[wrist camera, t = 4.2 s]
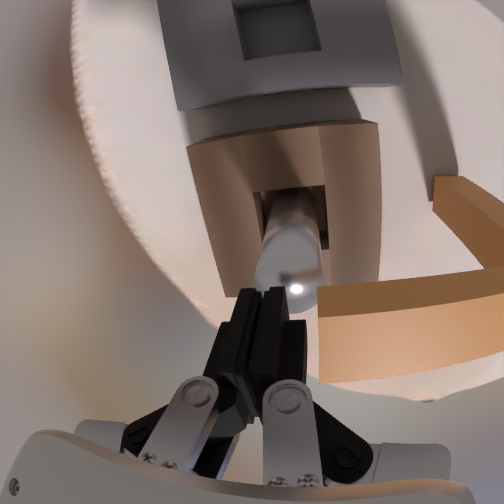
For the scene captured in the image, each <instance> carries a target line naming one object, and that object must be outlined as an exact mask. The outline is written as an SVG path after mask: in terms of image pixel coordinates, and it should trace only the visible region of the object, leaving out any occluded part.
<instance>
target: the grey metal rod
mask: <svg viewBox="0 0 504 504" xmlns="http://www.w3.org/2000/svg"><path fill="white" fill-rule="evenodd" d="M275 286H285V289H286V296H287V304H288V311H289V314H294V313H300V312H304V311H306V310H308V309H310V308H312V307H313V306H315V305H316V304H317V286H325V281H324V271H323V262H322V253H321V245H320V237H319V229H318V222H317V214H316V207H315V201H314V198H313V196H312V195H311V193H310V192H309V191H308V190H306V189H305V188H303V187H296V188H286V189H281V190H279V191H278V192H277V194H276V195H275V197H274V199H273V203H272V207H271V211H270V215H269V219H268V223H267V227H266V231H265V235H264V239H263V243H262V247H261V251H260V255H259V259H258V263H257V267H256V271H255V275H254V279H253V288H256V290H257V291H261V292H262V296H264V291H269V288H270V287H275Z"/></svg>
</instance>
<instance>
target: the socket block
mask: <svg viewBox="0 0 504 504" xmlns="http://www.w3.org/2000/svg"><path fill="white" fill-rule="evenodd" d="M186 148H187V153H188V157H189V161H190V165H191V169H192V173H193V177H194V182H195V186H196V190H197V194H198V197H199V201H200V205H201V209H202V213H203V217H204V221H205V224H206V228H207V232H208V236H209V239H210V243H211V247H212V250H213V254H214V258H215V261H216V265H217V268H218V272H219V275H220V279H221V282H222V286H223V289H224V293H225V296H226V297H238V295H239V291H240V289H241V288H253V279H254V275H255V271H256V267H257V263H258V259H259V255H260V251H261V247H262V243H263V239H264V235H265V231H266V227H267V223H268V219H269V215H270V211H271V207H272V203H273V199H274V197H275V195H276V194H277V192H278V191H279V190H281V189H286V188H296V187H303V188H305V189H306V190H308V191H309V192H310V193H311V195H312V196H313V198H314V201H315V207H316V214H317V222H318V229H319V237H320V245H321V253H322V262H323V271H324V281H325V286H331V285H344V284H356V283H368V282H378V277H379V264H380V248H381V219H382V189H381V161H380V145H379V132H378V123H375V122H371V121H367V120H364V119H361V120H339V121H324V122H312V123H302V124H293V125H284V126H276V127H269V128H262V129H256V130H249V131H243V132H237V133H232V134H227V135H221V136H216V137H211V138H207V139H204V140H201V141H199V142H197V143H194V144H192V145H190V146H188V147H186Z"/></svg>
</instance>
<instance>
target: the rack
mask: <svg viewBox="0 0 504 504" xmlns="http://www.w3.org/2000/svg"><path fill="white" fill-rule="evenodd" d="M157 3H158V9H159V15H160V21H161V27H162V32H163V38H164V44H165V49H166V54H167V59H168V65H169V70H170V75H171V80H172V85H173V89H174V94H175V99H176V104H177V108H178V111H181V110H190V109H199V108H203V107H208V106H212V105H216V104H221V103H225V102H230V101H235V100H240V99H246V98H251V97H257V96H263V95H270V94H277V93H285V92H293V91H302V90H313V89H326V88H344V87H388V86H395V85H403V82H402V75H401V69H400V63H399V58H398V53H397V48H396V43H395V39H394V34H393V30H392V26H391V22H390V19H389V15H388V11H387V8H386V4H385V1H384V0H157Z"/></svg>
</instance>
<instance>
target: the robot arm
mask: <svg viewBox="0 0 504 504" xmlns="http://www.w3.org/2000/svg"><path fill="white" fill-rule="evenodd" d="M306 374H307V327H306V320H290V319H289V311H288V304H287V296H286V289H285V286H275V287H270V288H269V291H264V296H262V292H261V291H257V290H256V288H241V289H240V291H239V295H238V298H237V301H236V304H235V307H234V310H233V313H232V316H231V320H230V322H222V323H221V325H220V327H219V330H218V333H217V336H216V339H215V342H214V344H213V347H212V350H211V353H210V356H209V359H208V361H207V365H206V367H205V370H204V373H203V376H197V377H192V378H190V379H187V380H186V381H185V382H183V383H182V384H181V385H180V386H179V388H178V389H177V391H176V393H175V394H174V396H173V398H172V399H171V401H170V403H169V404H167V405H166V406H164V407H162V408H160V409H158V410H156V411H154V412H152V413H150V414H148V415H146V416H144V417H142V418H140V419H138V420H137V421H134V422H133V423H131V424H129V425H128V424H126V423H125V422H113V421H101V420H91V419H88V420H83V421H81V422H80V423H79V424H78V425H77V427H76V429H75V432H74V434H71V433H68V432H65V431H61V430H41V431H38V432H35V433H34V434H32V435H31V436H30V437H29V438H28V439H27V440H26V442H25V443H24V445H23V446H22V448H21V449H20V451H19V453H18V455H17V457H16V459H15V461H14V463H13V465H12V467H11V469H10V471H9V473H8V476H7V479H6V481H5V483H4V486H3V488H2V491H1V494H0V504H476V502H475V499H474V496H473V494H472V492H471V491H470V490H469V489H468V488H467V487H466V486H464V485H462V484H460V483H457V482H453V481H449V475H450V467H451V454H450V452H449V450H448V448H446V447H445V446H443V445H441V444H401V443H382V444H370V443H367V442H366V441H365V440H363V439H362V438H361V437H359V436H358V435H357V434H355V433H354V432H353V431H351V430H350V429H349V428H347V427H346V426H345V425H343V424H342V423H341V422H339V421H338V420H337V419H335V418H334V417H333V416H332V415H330V414H329V413H328V412H327V411H325V410H324V409H323V408H321V407H320V406H319V405H318V404H316V403H315V402H314V401H313V399H312V394H311V391H310V389H309V388H308V387H307V386H306ZM255 417H259V418H260V421H261V423H262V426H263V485H255V484H246V483H238V482H231V481H223V480H222V477H223V475H224V473H225V471H226V468H227V466H228V464H229V461H230V459H231V457H232V454H233V451H234V449H235V447H236V445H237V442H238V440H239V437H240V432H241V431H242V430H244V429H246V426H247V424H253V423H254V418H255ZM323 485H324V486H325V487H323Z"/></svg>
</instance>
